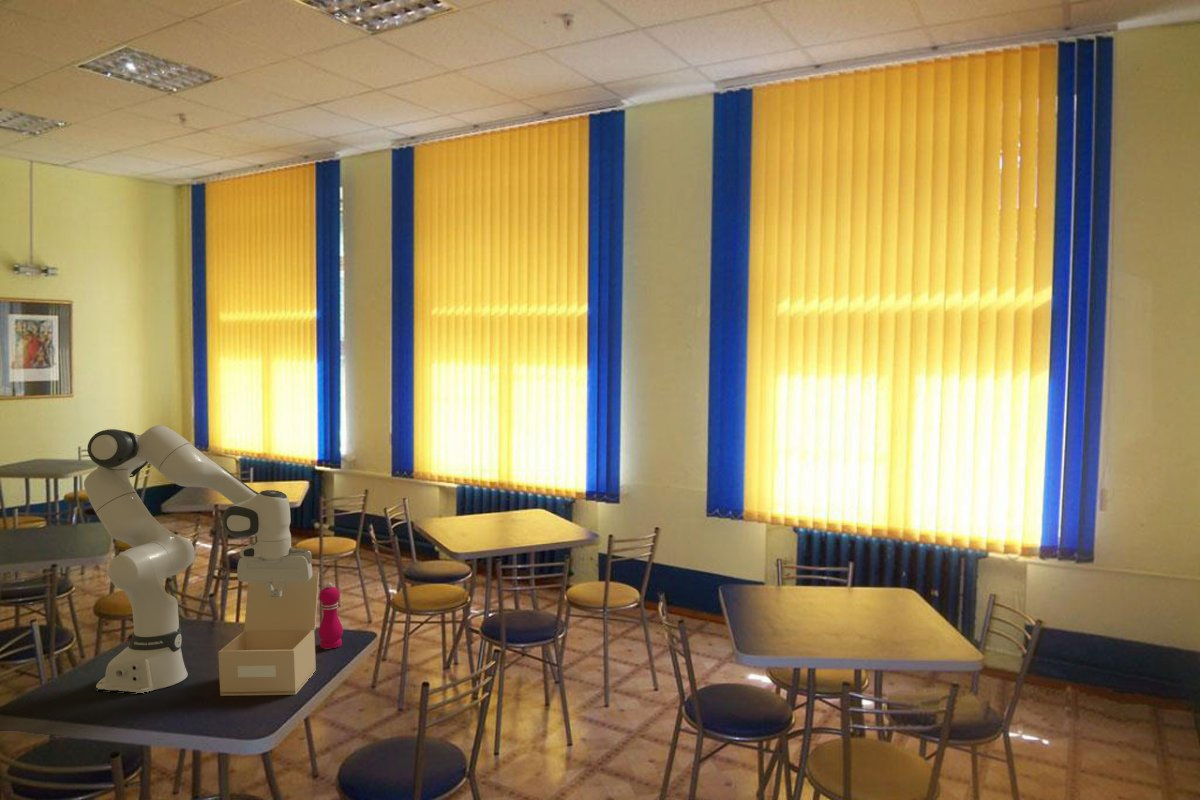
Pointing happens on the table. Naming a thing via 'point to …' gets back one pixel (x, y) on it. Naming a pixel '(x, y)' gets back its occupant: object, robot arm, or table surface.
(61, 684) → the table surface
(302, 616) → the carton lid
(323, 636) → the pepper mill
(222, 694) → the carton
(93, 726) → the table surface
